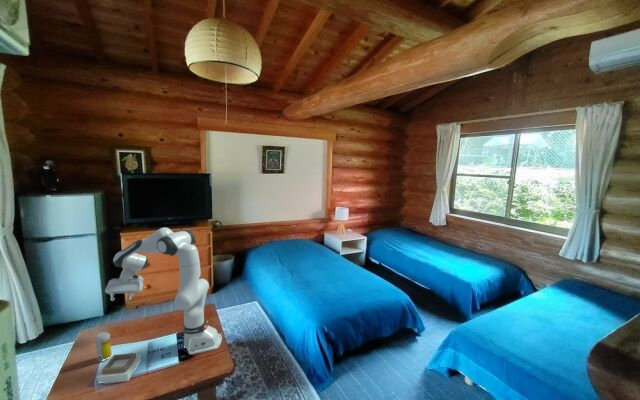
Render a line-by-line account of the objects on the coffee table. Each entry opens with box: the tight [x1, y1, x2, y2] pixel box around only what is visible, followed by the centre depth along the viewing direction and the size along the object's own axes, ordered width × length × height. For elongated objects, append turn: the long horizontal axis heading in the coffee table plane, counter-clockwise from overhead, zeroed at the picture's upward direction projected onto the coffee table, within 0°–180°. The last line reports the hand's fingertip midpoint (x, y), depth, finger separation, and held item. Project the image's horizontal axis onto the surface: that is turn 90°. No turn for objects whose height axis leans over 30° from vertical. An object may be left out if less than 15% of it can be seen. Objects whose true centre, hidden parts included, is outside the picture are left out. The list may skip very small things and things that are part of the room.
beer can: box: [95, 331, 112, 362], centre depth 154 cm, size 6×6×15 cm
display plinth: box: [96, 352, 142, 384], centre depth 145 cm, size 14×14×6 cm
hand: (120, 300), depth 168 cm, fingers open, 8 cm apart
